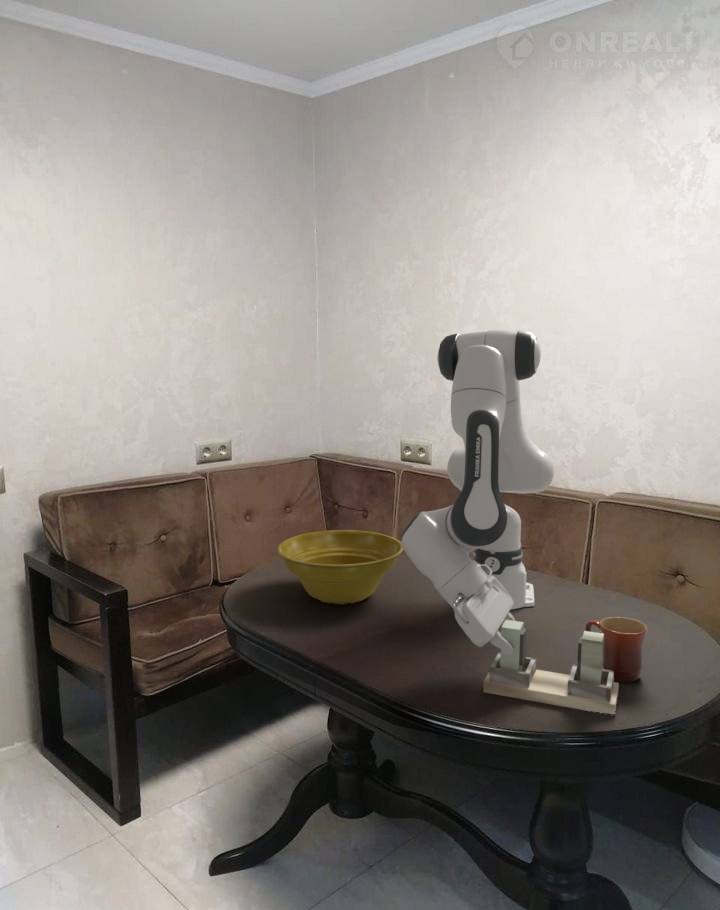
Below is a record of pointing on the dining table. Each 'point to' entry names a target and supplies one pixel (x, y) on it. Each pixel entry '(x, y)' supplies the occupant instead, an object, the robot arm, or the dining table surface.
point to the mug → (622, 646)
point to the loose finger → (517, 637)
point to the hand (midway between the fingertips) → (515, 643)
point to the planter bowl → (340, 562)
